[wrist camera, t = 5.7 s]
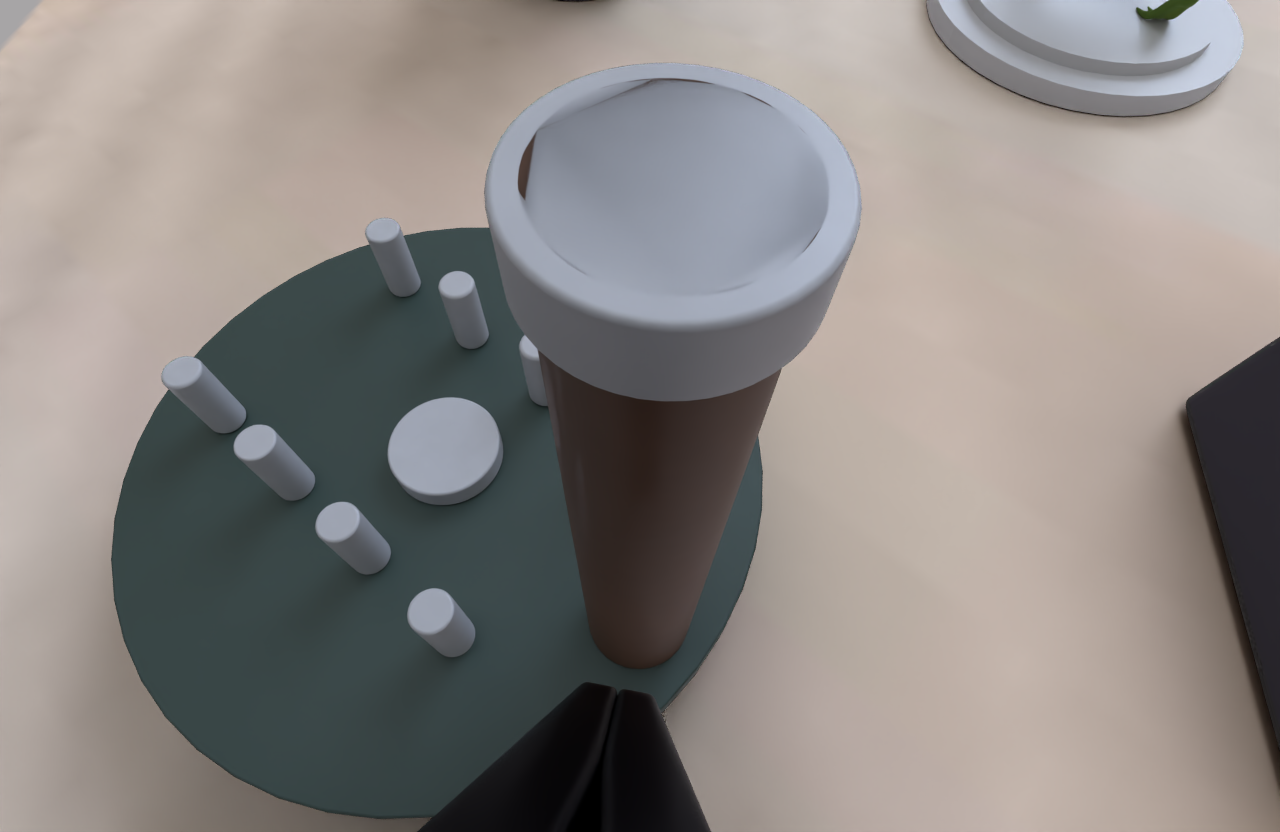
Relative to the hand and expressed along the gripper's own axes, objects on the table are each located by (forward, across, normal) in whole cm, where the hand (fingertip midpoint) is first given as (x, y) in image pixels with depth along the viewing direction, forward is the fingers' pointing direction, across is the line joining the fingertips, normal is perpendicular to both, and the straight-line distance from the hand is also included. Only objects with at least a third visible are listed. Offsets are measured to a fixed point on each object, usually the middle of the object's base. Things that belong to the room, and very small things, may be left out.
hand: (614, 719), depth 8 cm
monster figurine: (+27, -13, -16) cm, 34 cm away
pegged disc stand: (+8, +5, +1) cm, 9 cm away
